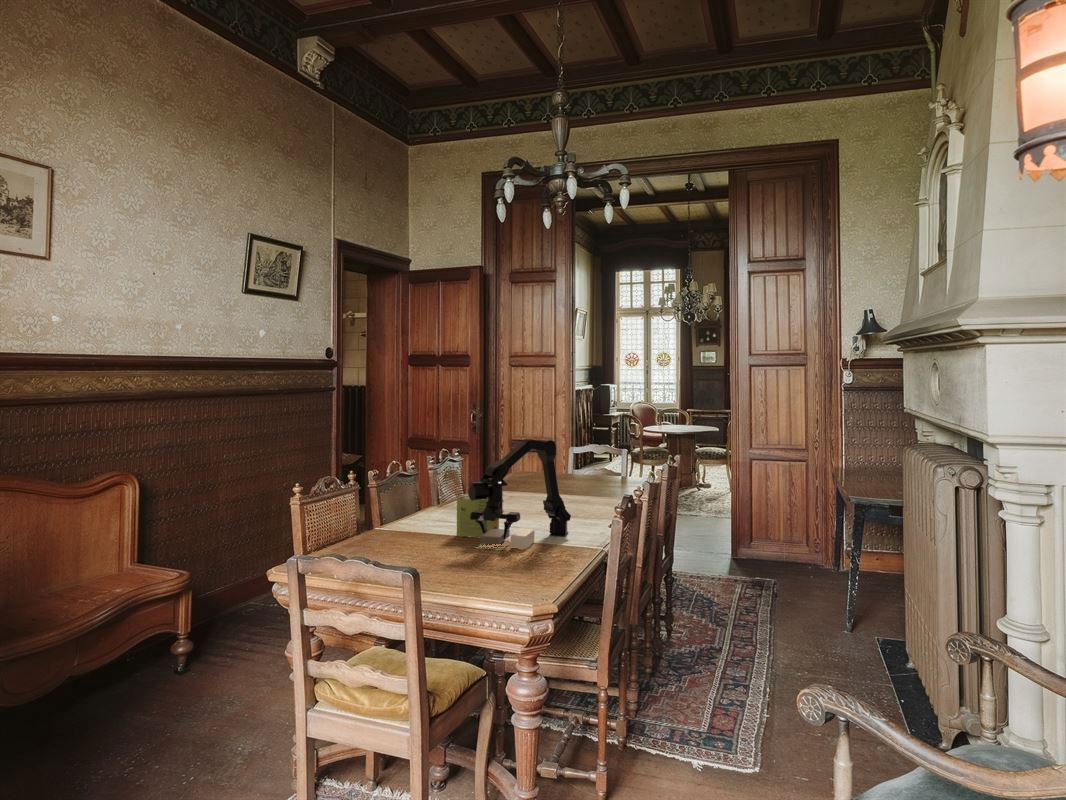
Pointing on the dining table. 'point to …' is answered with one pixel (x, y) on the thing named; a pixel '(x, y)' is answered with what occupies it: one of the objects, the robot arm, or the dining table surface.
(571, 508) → the dining table surface
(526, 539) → the box
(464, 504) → the protein box
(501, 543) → the mat
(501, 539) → the lid
